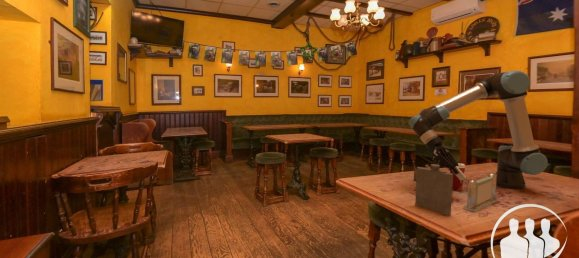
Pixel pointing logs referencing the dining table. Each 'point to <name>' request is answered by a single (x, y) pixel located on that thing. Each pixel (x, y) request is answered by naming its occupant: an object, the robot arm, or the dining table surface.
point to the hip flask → (434, 189)
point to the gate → (483, 190)
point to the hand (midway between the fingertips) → (463, 179)
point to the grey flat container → (416, 172)
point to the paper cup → (456, 182)
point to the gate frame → (472, 195)
